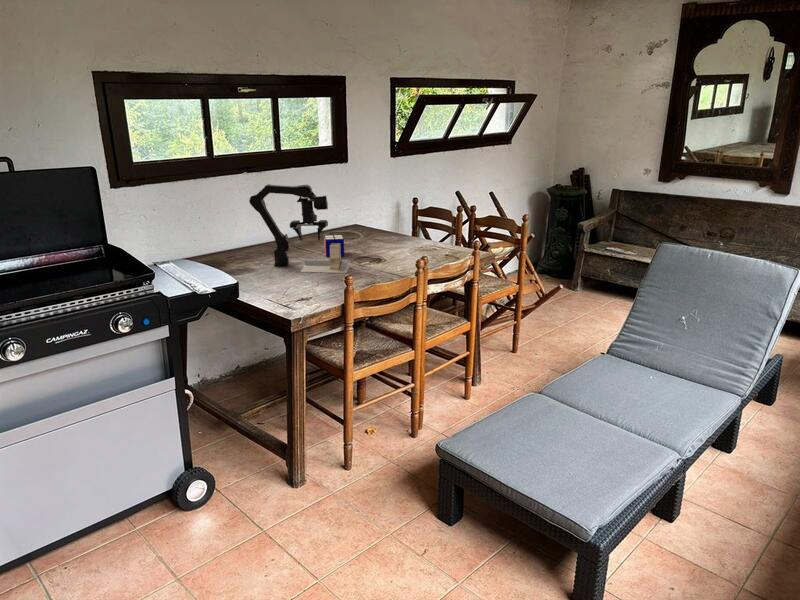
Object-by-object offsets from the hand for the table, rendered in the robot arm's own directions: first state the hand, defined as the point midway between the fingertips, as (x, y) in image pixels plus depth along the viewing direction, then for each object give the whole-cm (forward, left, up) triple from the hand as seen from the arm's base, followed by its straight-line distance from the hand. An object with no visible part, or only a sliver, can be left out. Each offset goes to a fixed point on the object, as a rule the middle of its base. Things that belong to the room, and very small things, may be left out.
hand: (310, 240), depth 310 cm
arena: (+9, -8, -13) cm, 18 cm away
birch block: (+14, -7, -12) cm, 20 cm away
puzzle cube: (+9, +22, -13) cm, 28 cm away
